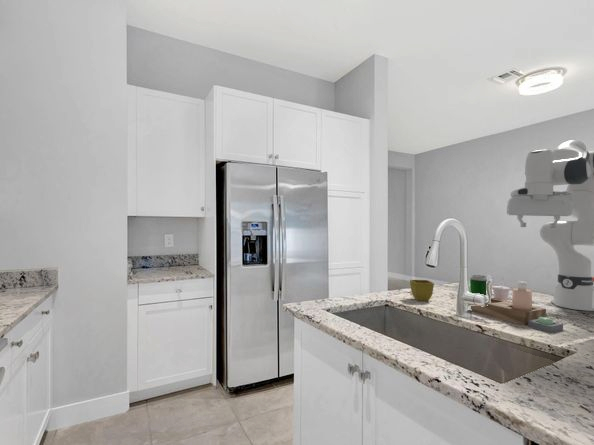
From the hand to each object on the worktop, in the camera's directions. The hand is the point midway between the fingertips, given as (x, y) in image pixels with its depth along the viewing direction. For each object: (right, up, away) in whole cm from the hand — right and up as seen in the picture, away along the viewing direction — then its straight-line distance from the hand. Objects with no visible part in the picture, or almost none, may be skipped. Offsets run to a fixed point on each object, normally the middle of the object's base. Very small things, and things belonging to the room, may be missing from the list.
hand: (537, 227), depth 124 cm
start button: (-7, -35, -13) cm, 37 cm away
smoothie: (-4, -36, +16) cm, 40 cm away
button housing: (-7, -35, -13) cm, 38 cm away
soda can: (-4, -36, +33) cm, 49 cm away
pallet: (-11, -35, +3) cm, 37 cm away
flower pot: (-32, -36, +33) cm, 58 cm away
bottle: (-8, -34, -2) cm, 35 cm away
